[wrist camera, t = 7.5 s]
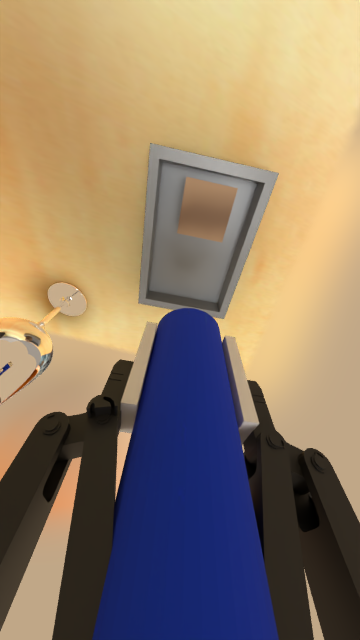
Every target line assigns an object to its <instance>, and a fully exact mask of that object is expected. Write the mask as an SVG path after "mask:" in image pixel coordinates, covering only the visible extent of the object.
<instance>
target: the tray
mask: <svg viewBox="0 0 360 640" xmlns="http://www.w3.org/2000/svg"><path fill="white" fill-rule="evenodd" d="M278 174H279V173H276V172H272V171H267V170H263V169H259V168H255V167H250V166H246V165H242V164H237V163H233V162H229V161H225V160H220V159H216V158H212V157H208V156H203V155H199V154H195V153H191V152H186V151H182V150H178V149H174V148H169V147H165V146H161V145H157V144H152V143H150V152H149V166H148V179H147V193H146V207H145V220H144V234H143V247H142V261H141V274H140V288H139V302H138V303H139V304H145V305H150V306H156V307H161V308H166V309H172V310H177V309H181V308H195V309H199V310H202V311H204V312H206V313H208V314H209V315H210V316H212V317H216V318H221V319H224V317H225V315H226V312H227V310H228V307H229V304H230V302H231V299H232V296H233V294H234V291H235V288H236V286H237V283H238V280H239V278H240V275H241V272H242V270H243V267H244V264H245V262H246V259H247V257H248V254H249V251H250V249H251V246H252V243H253V241H254V238H255V235H256V233H257V230H258V227H259V225H260V222H261V219H262V217H263V214H264V212H265V209H266V206H267V204H268V201H269V198H270V196H271V193H272V190H273V188H274V185H275V182H276V180H277V177H278ZM186 177H190V178H194V179H199V180H203V181H208V182H212V183H216V184H221V185H225V186H230V187H234V188H238V190H237V193H236V197H235V200H234V204H233V207H232V211H231V214H230V217H229V221H228V224H227V228H226V231H225V234H224V238H223V241H222V242H217V241H212V240H207V239H203V238H198V237H193V236H188V235H183V234H179V233H177V231H178V224H179V218H180V212H181V206H182V200H183V194H184V188H185V182H186Z"/></svg>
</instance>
